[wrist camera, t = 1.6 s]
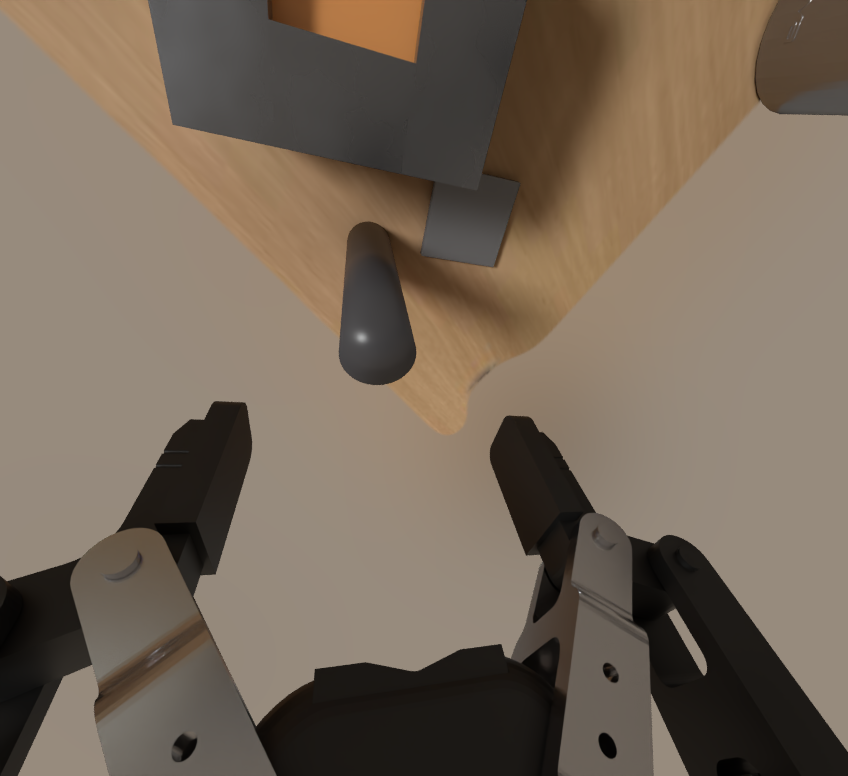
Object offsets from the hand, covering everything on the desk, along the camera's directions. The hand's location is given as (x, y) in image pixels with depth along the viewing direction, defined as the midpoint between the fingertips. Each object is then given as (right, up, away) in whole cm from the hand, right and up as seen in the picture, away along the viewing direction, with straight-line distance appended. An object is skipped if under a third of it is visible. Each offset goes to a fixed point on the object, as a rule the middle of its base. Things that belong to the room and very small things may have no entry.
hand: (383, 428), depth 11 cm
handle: (-3, +12, +15) cm, 19 cm away
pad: (+4, +14, +15) cm, 21 cm away
